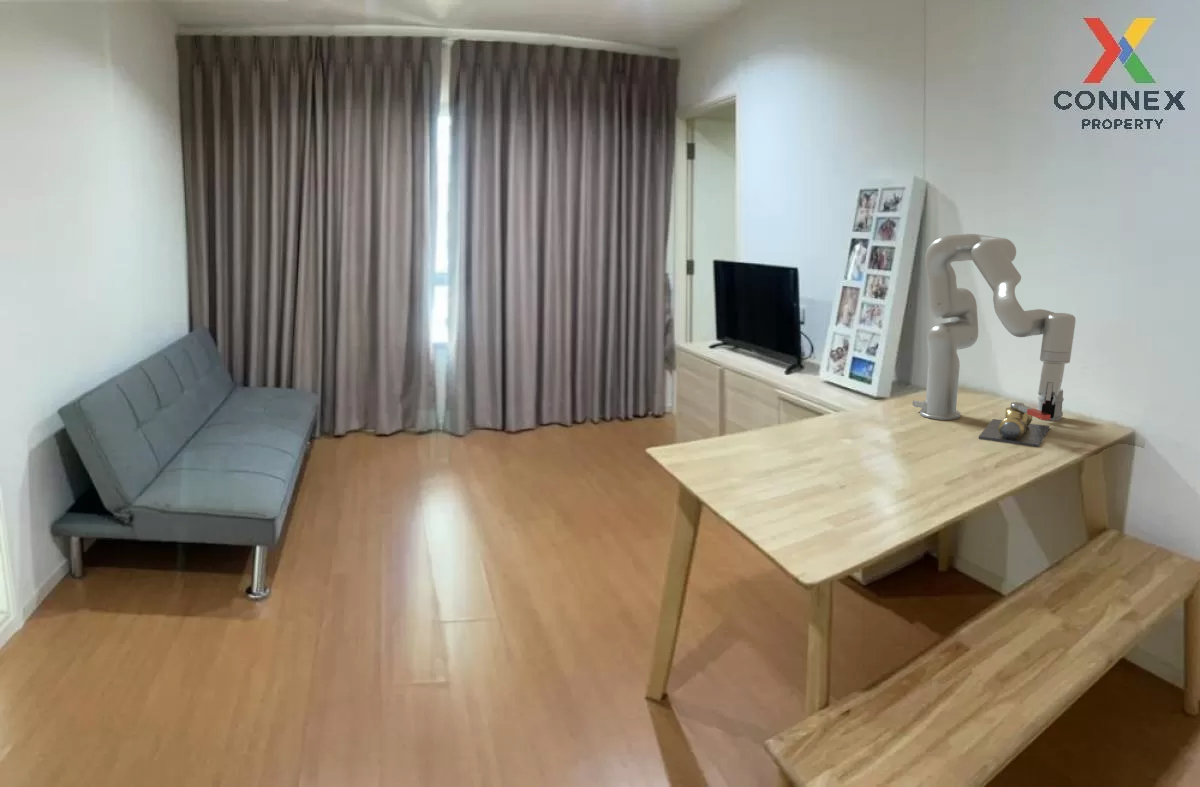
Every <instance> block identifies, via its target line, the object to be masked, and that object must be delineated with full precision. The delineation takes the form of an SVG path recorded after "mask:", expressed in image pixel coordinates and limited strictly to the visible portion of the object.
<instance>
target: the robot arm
mask: <svg viewBox="0 0 1200 787" xmlns="http://www.w3.org/2000/svg"><path fill="white" fill-rule="evenodd" d="M925 251H926V252H925V256H924V266H925V271H926V275H927V276H926V277H927V290H928V303H929V310H930V313H931V315H932V316H933V317H934V318H935V319H938V320H939V319H940V320H941V319H942V320H945V319H950V321H948V322H947V321H946V322H942V323H938V324H936V325H934V326H932V327H931V328H930V329H929V331H928V333H927V337H926V344H927V352H928V366H927V376H926V377H927V380H926V391H925V392H926V394H925V396H926V397H925V400H922V401H920V400H915V399H913V400H912V406H913V407H914V408H921V409H920V410H919V415H921V417H924V418H927V419H932V420H941V421H949V420H950V421H953V420H958V419H960V418H961V416H962V413H961V412H960V411H959V410H957V405H958V404H957V403H958V394H959V393H958V390H959V378H960V358H959V354H958V353H957V352H958V351H959V350H964V349H969V348H971V347H973V346H974V344H976V342H977V340H978V337H979V319H978V306H977V300H976V298H975V295H974V293H973V292H972V291H971V290H969V289H967V288H963V287H958V285H957V275H956V271H955V269H954V268H953V267H952V263H954V262H963V261H972V262H973V263H974V265H975V266H976V268H977V269H978V271H979V273H980V274H981V275H982V277H983V278H984V280H985V281H986V283H987V284H988V286H989V287H990V289H991V291H992V293H993V298H992V299H993V300H992V301H993V307H994V312H995V314H996V316H997V317H998V320H999V321H1000V322H1001V324H1002V325H1003V327H1004V328H1005V329H1006V331H1007V332H1009V333H1010V334H1011V335H1012V336H1014V337H1016V338H1028V337H1033V336H1039V335H1042V339H1041V340H1042V341H1041V349H1040V355H1039V356H1040V357H1039V361H1040V362H1042V363H1043V364H1042V368H1041V374H1040V379H1039V380H1040V381H1039V386H1038V391H1037V392H1038V393H1037V394H1038V396H1039V395H1041V394H1043V393H1044V401H1043V404H1042V412H1045V413H1048V414H1050V415H1051V416H1050V418H1053V417H1054V412H1055V405H1056V404H1055V400H1056V396H1057V395H1058V393H1059V391H1060V388H1061V389H1062V383H1063V378H1064V372H1065V364H1070V362H1071V356H1072V349H1073V343H1074V337H1075V336H1074V335H1075V328H1076V322H1077V320H1076V317H1075V315H1074V314H1072V313H1071V314H1070V313H1065V312H1054V311H1050V310H1047V309H1041V308H1037V309H1030V310H1024V309H1023V307H1022V306H1021V303H1019V301H1018V299H1017V297H1016V292H1015V291H1016V287H1017V286H1018V285H1019V284H1020V282H1021V280H1022V275H1021V274H1020V272H1019V271H1018V269H1017V268H1016V267H1015V265H1014V264H1013V263H1012V262H1013V261H1014V260H1015V258H1016V256H1017V247H1016V246H1015V244H1014V242H1012V241H1011V240H1010V239H1007V238H1005V237H999V236H990V235H984V234H978V233H977V234H976V233H962V234H950V235H949V234H948V235H945V236H942V237H941V236H940V237H939V238H937V239H935V240H934V241H933V242H931V244H929V246H928V247H927V249H926V250H925ZM957 350H958V351H957ZM1044 391H1045V392H1044Z"/></svg>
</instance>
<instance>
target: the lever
mask: <svg viewBox="0 0 1200 787" xmlns="http://www.w3.org/2000/svg"><path fill="white" fill-rule="evenodd" d="M1010 407H1011V409H1013V410H1019V411H1022V412H1024V413H1027V414H1029V415H1031V416H1032V417H1034V418H1037V419H1039V420H1042V421H1048V420H1050V416H1051V415H1050V414H1048V413H1045V412H1042V411H1040V410H1037V409H1038V408H1034V407H1031V406H1028V405H1026V404H1025V403H1023V402H1017V401H1014V402H1010Z"/></svg>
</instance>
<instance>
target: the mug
mask: <svg viewBox="0 0 1200 787" xmlns="http://www.w3.org/2000/svg"><path fill="white" fill-rule="evenodd" d="M1044 392H1045V391H1044ZM1063 396H1064V390H1063V388H1062V387H1061V388H1060V391H1059V393H1058V395H1057V396H1056V400H1055V404H1056V405H1055V412H1054V417H1053V418H1050V420H1047V421H1049V422H1051V421H1052V422H1056V421H1061V420H1062V417H1063V415H1064V413H1063V402H1064V397H1063ZM1037 399H1038V403H1037V408H1036V409H1037V410H1040V411H1042V404H1043V401H1044V393H1043V394H1041V395H1039V394H1038V398H1037Z"/></svg>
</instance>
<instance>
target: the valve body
mask: <svg viewBox="0 0 1200 787" xmlns="http://www.w3.org/2000/svg"><path fill="white" fill-rule="evenodd" d="M1032 421H1033V416H1031V415H1029V414H1027V413H1024V412H1022V411H1019V410H1013V409H1011V406H1010V407H1006V408H1005V415H1004V419H997V418H993V419H992V420H991V421H990V422H989V423H988V425H987V426H986V427H985V428H984V429H983V431H982V432H981V433H980V434H979V435H978V439H979V440H985V441H986V440H987V441H991V440H992V442H993V441H994V442H1000V443H1006V444H1014V445H1021V446H1027V447H1036V448H1040V446H1041V444H1042V442H1043V441H1044V438H1045V437H1046V436H1047V433H1048V432H1049V430H1050V425H1043V424H1035V423H1032Z"/></svg>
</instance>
